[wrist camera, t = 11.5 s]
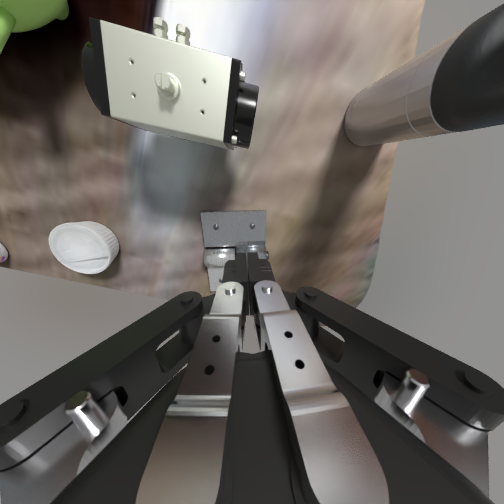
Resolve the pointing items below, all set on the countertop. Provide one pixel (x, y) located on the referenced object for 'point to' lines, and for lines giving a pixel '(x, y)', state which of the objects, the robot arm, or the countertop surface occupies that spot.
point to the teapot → (28, 15)
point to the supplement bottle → (3, 253)
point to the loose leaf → (217, 264)
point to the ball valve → (168, 85)
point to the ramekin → (84, 246)
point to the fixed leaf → (236, 230)
